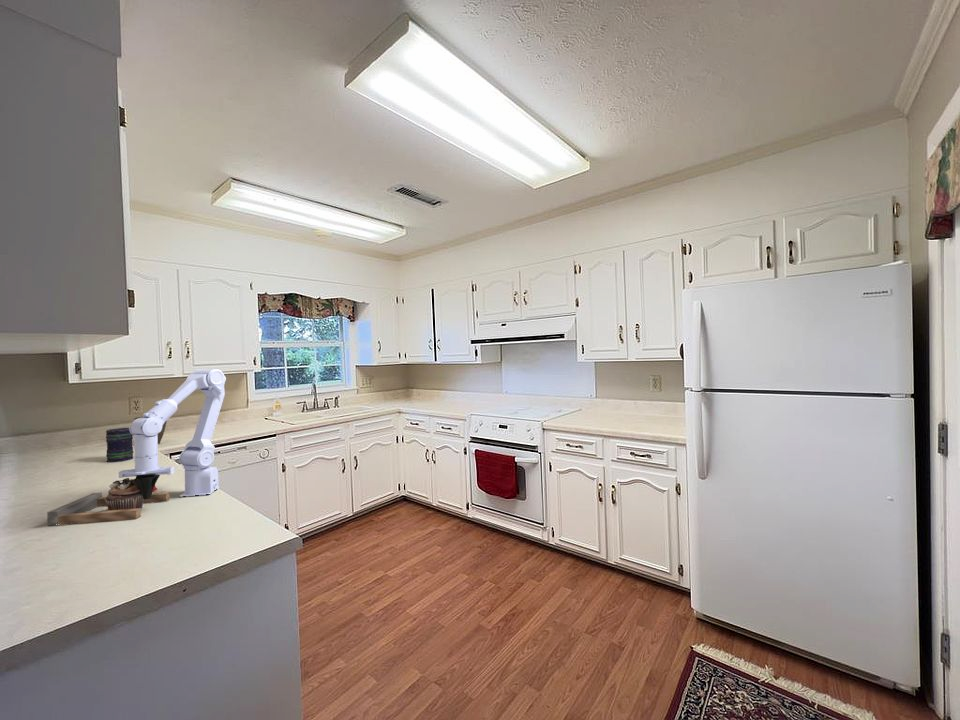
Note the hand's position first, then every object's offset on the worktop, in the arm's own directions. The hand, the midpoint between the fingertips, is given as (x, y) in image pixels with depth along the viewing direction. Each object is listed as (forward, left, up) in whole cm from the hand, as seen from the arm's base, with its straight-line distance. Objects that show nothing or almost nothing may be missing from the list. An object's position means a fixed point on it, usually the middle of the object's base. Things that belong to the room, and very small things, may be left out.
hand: (147, 498), depth 128 cm
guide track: (+9, 0, -3) cm, 10 cm away
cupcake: (+6, 0, -4) cm, 7 cm away
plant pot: (+66, -120, -4) cm, 136 cm away
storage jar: (+57, -80, -4) cm, 98 cm away
